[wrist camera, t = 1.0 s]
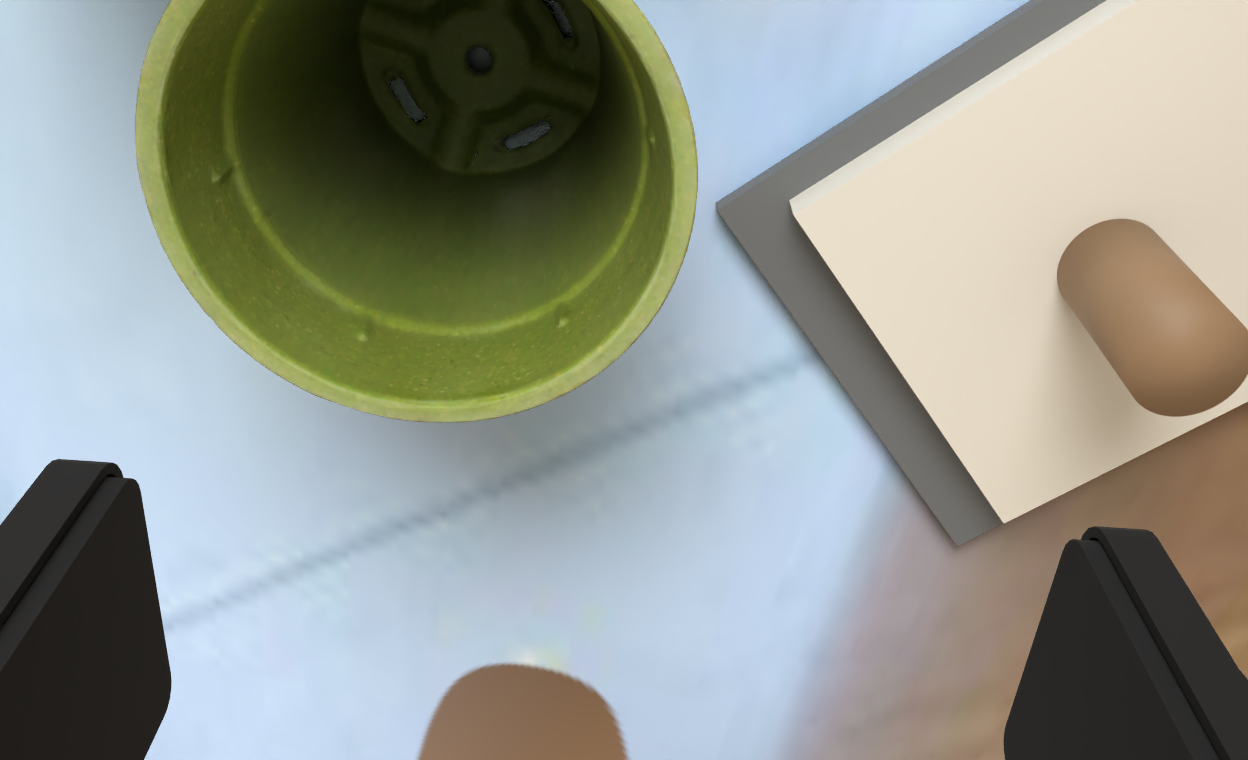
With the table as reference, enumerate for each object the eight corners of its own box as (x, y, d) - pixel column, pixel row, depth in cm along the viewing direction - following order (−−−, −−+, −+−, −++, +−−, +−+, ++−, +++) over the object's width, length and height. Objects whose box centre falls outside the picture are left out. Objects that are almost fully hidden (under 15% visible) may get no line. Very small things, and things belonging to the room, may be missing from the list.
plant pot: (764, -3, 34) (814, 119, 24) (541, 300, 39) (506, 504, 29) (404, -273, 30) (290, -258, 21) (211, 97, 35) (46, 249, 26)
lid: (1231, -79, 32) (1374, -24, 26) (1393, 300, 37) (1543, 420, 31) (789, 200, 36) (819, 305, 30) (994, 503, 42) (1056, 644, 35)
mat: (1281, -162, 31) (1292, -159, 31) (1456, 283, 38) (1467, 291, 37) (715, 203, 37) (716, 210, 36) (953, 536, 43) (957, 546, 43)
